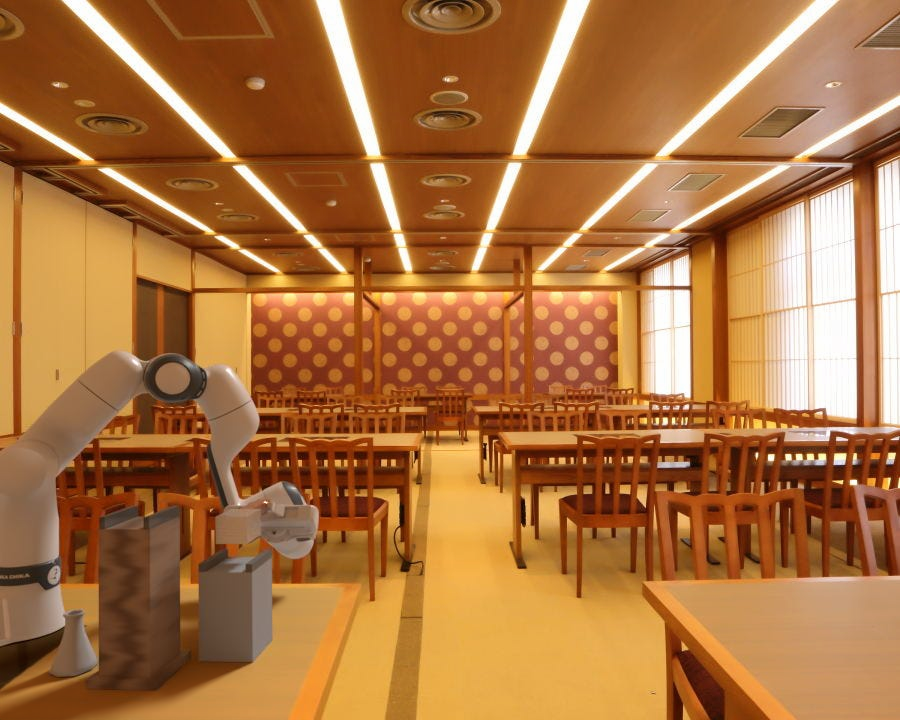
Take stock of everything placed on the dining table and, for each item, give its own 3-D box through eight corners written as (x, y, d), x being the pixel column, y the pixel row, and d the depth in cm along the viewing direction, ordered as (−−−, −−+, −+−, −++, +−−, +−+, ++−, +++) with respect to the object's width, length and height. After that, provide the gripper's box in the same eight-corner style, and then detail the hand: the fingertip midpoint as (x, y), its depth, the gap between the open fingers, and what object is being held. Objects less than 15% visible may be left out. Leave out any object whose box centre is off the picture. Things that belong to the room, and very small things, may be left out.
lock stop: (215, 543, 120) (215, 516, 120) (251, 522, 137) (250, 499, 137) (247, 543, 119) (246, 516, 120) (278, 522, 136) (278, 498, 136)
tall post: (86, 688, 107) (86, 518, 108) (128, 657, 119) (127, 504, 120) (155, 690, 106) (155, 518, 107) (191, 658, 118) (190, 504, 119)
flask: (75, 680, 110) (76, 621, 111) (40, 676, 112) (40, 618, 112) (106, 661, 117) (106, 606, 118) (72, 658, 119) (72, 604, 119)
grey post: (199, 661, 117) (198, 563, 117) (222, 638, 127) (222, 549, 127) (252, 662, 116) (251, 564, 117) (272, 639, 126) (271, 549, 127)
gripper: (238, 512, 148) (214, 491, 136) (325, 511, 146) (309, 490, 135) (232, 539, 145) (208, 520, 133) (322, 539, 143) (305, 520, 131)
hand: (259, 505), depth 134 cm, fingers closed on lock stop, 2 cm apart
